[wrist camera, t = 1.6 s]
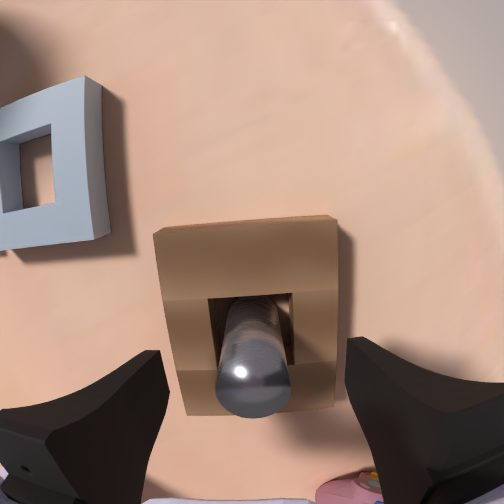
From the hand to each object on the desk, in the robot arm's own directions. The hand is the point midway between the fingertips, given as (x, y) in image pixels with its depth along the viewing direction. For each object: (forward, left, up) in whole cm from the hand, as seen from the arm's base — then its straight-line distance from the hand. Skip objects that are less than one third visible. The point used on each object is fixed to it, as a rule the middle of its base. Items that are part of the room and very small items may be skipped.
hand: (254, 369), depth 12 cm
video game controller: (-16, -9, -6) cm, 19 cm away
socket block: (+9, +11, -5) cm, 15 cm away
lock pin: (0, 0, -5) cm, 5 cm away
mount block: (0, 0, -5) cm, 5 cm away
